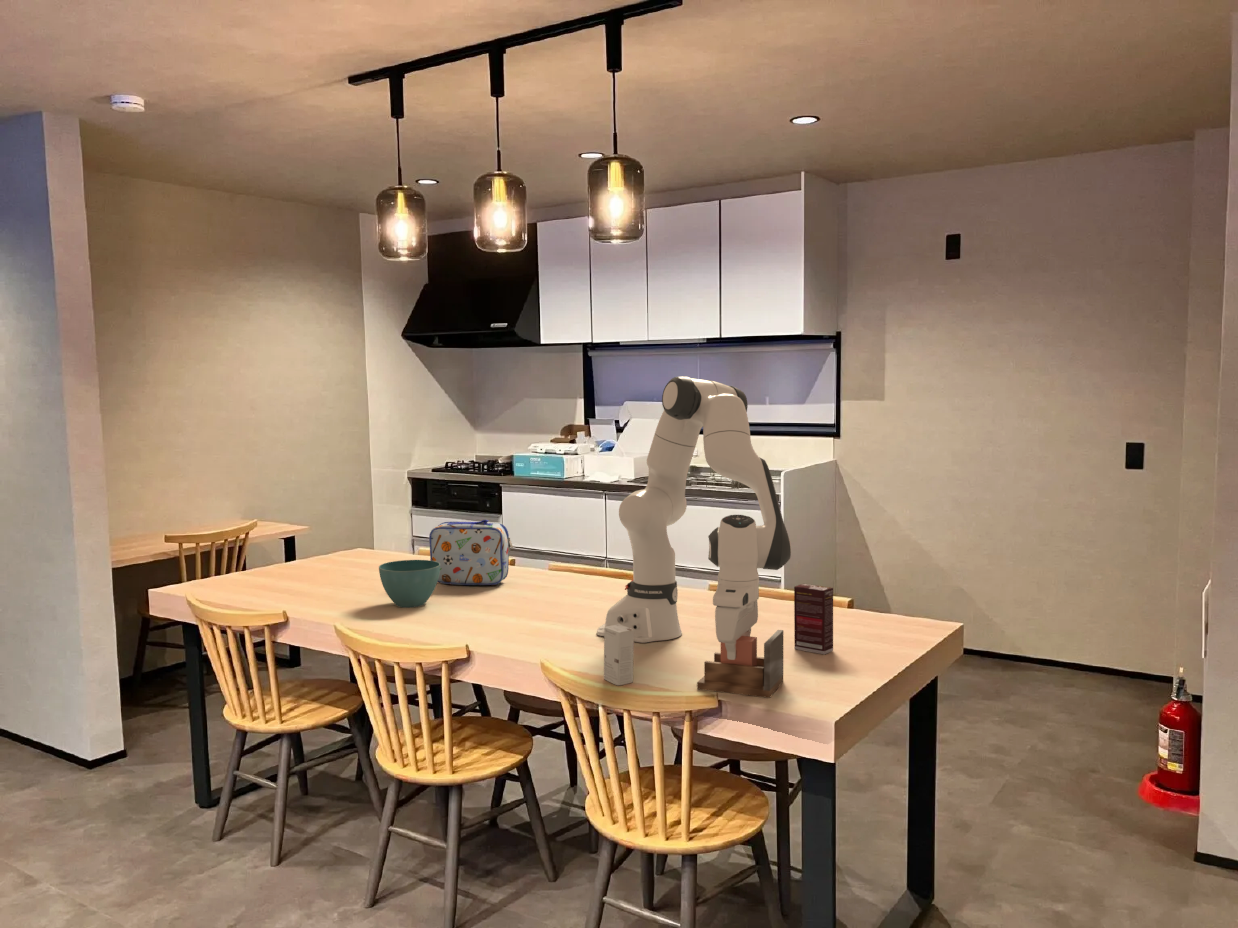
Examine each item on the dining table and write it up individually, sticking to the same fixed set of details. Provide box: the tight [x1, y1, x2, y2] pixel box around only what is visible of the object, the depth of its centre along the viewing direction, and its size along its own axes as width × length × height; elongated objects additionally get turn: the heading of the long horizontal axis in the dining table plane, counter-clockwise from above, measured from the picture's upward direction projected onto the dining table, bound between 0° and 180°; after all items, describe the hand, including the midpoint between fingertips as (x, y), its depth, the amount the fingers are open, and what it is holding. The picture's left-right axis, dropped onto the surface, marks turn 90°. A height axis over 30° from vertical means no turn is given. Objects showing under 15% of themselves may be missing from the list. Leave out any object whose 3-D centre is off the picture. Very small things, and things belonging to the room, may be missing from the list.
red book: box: [720, 635, 758, 666], centre depth 208 cm, size 7×4×9 cm, turn 66°
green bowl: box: [378, 559, 440, 609], centre depth 289 cm, size 18×18×12 cm
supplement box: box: [793, 583, 834, 655], centre depth 234 cm, size 9×5×16 cm, turn 50°
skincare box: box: [603, 624, 635, 686], centre depth 212 cm, size 6×4×12 cm
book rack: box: [696, 629, 784, 699], centre depth 208 cm, size 16×12×12 cm
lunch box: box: [428, 519, 514, 586], centre depth 318 cm, size 28×10×22 cm, turn 82°
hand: (738, 652), depth 208 cm, fingers open, 8 cm apart
